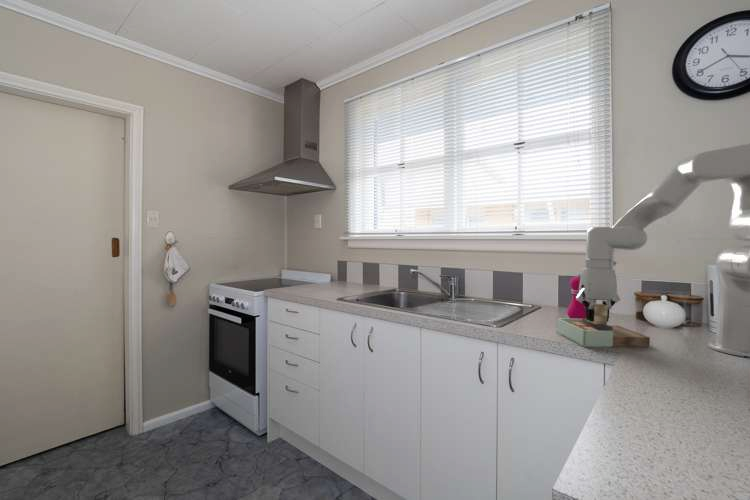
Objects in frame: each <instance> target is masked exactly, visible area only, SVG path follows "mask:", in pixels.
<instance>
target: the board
mask: <svg viewBox="0 0 750 500" xmlns="http://www.w3.org/2000/svg"><path fill="white" fill-rule="evenodd" d="M609 326H612V327H613V346H623V347H624V348H625V347H627V348H628V347H629V348H650V342H651V341H650V340H651V338H650V336H647V335H644V334H641V333H639V332H636V331H635V330H634V331H633V330H631V329H629V328H626V327H622V326H620V325H609ZM623 347H622V348H623Z"/></svg>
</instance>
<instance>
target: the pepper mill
mask: <svg viewBox="0 0 750 500" xmlns="http://www.w3.org/2000/svg"><path fill="white" fill-rule="evenodd" d="M581 273H582V272H578V273H577V274H576V277H573V278H571V280H570V282H569V287H571V292H570V293H571V294H572V298H571V299H572V300H571V302H570V304H569V306H568V308H567V311H566V312H567V313H566V315H567V317H569V319H586V316H585V315H586V308H585V307H584V305H583V304H582V303H581V302H579V301H578V300H576V296H577V295H578V294H579V283H580V277H581ZM583 299H584V300H585V299H586V298H583Z"/></svg>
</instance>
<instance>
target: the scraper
mask: <svg viewBox="0 0 750 500" xmlns="http://www.w3.org/2000/svg"><path fill="white" fill-rule="evenodd" d="M592 309H594V321H589V320H586V319H582V324H585V325H586V327H592V328H594V329H597V330H598V331H613V327H612V326H613V325H610V326H609V325H608V322H607V311H608V306H607V305H604V304H602V303H599V302H596V303H595V302H594V304H593V308H592Z"/></svg>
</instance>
